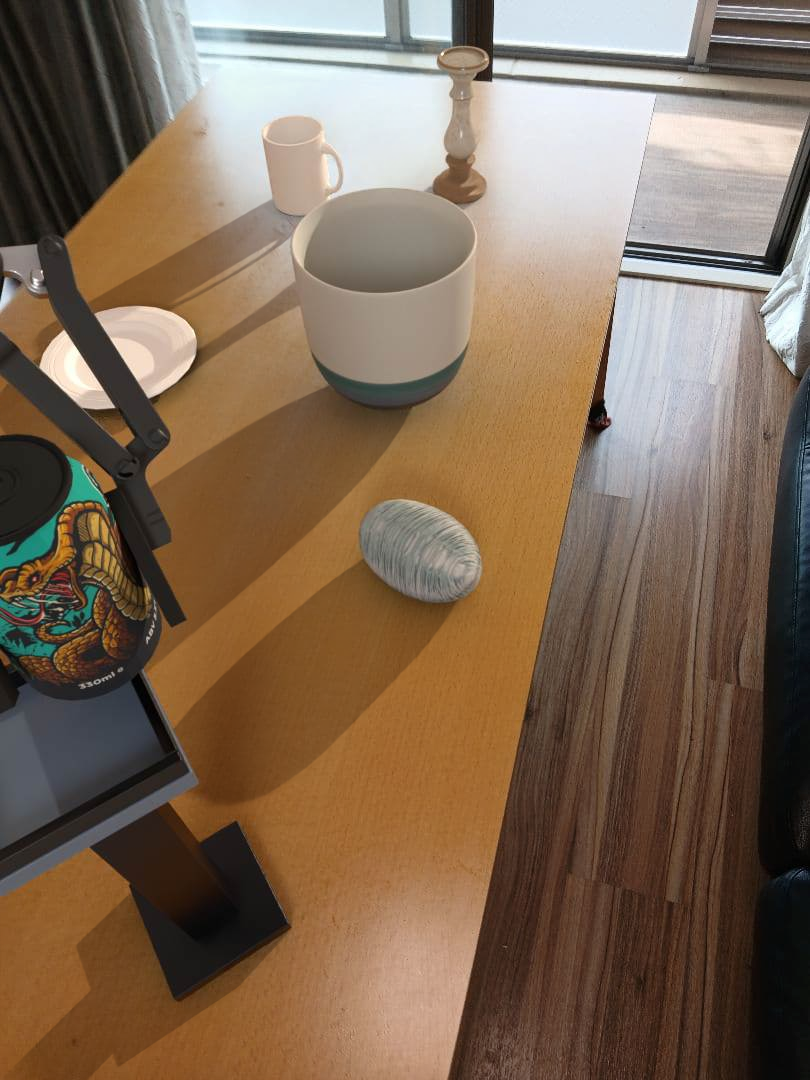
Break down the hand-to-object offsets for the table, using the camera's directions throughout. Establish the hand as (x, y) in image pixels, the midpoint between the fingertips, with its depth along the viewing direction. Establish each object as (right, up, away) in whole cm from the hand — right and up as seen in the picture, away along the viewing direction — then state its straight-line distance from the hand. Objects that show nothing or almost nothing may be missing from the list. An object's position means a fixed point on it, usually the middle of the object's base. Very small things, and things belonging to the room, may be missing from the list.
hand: (94, 659), depth 36 cm
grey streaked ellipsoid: (+15, +2, +52) cm, 54 cm away
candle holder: (+23, +63, +98) cm, 119 cm away
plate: (-24, +29, +74) cm, 83 cm away
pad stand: (-2, -25, +32) cm, 41 cm away
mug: (-2, +61, +97) cm, 114 cm away
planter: (+12, +25, +70) cm, 75 cm away
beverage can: (-2, 0, +5) cm, 5 cm away
